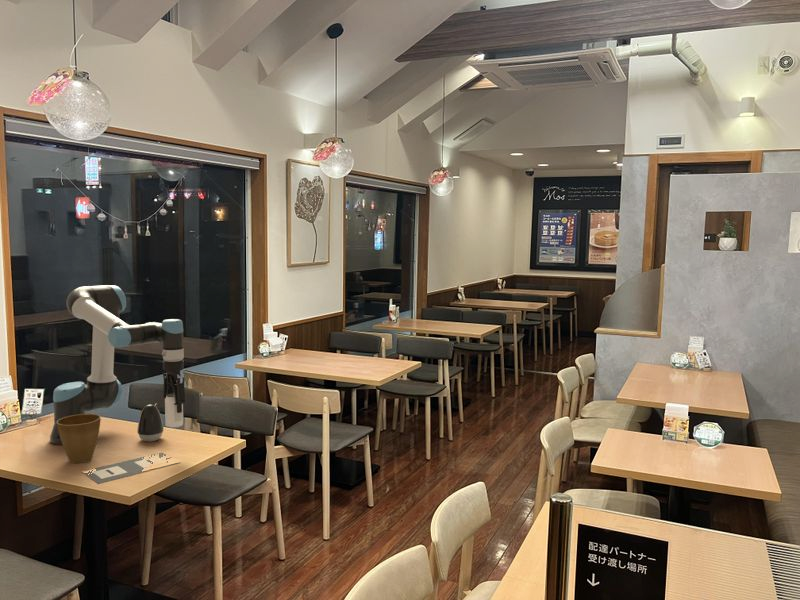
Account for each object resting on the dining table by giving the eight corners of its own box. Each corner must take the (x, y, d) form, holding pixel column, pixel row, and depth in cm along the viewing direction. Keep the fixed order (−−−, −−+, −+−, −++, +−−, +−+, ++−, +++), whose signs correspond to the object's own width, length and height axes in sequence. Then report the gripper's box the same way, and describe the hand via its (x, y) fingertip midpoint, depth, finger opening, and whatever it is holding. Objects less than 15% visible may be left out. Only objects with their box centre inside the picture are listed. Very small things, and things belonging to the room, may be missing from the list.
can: (177, 428, 236) (176, 397, 235) (162, 427, 238) (161, 396, 237) (186, 424, 243) (186, 393, 242) (171, 422, 244) (171, 392, 243)
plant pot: (85, 451, 246) (84, 411, 245) (110, 457, 240) (109, 417, 238) (49, 462, 233) (47, 420, 232) (74, 469, 226) (73, 426, 225)
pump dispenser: (168, 436, 266) (168, 402, 265) (155, 444, 256) (154, 408, 255) (146, 435, 268) (146, 400, 267) (132, 442, 258) (131, 406, 256)
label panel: (81, 471, 225) (81, 471, 224) (161, 452, 246) (161, 452, 246) (98, 483, 213) (98, 483, 213) (180, 462, 235) (180, 462, 235)
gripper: (153, 357, 242) (154, 415, 244) (174, 364, 229) (176, 426, 231) (171, 355, 247) (172, 412, 249) (194, 362, 234) (195, 422, 236)
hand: (174, 418), depth 240 cm, fingers closed on can, 6 cm apart
